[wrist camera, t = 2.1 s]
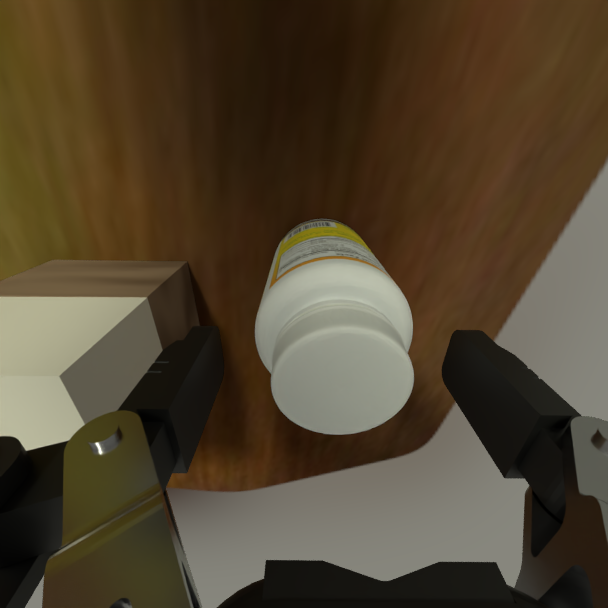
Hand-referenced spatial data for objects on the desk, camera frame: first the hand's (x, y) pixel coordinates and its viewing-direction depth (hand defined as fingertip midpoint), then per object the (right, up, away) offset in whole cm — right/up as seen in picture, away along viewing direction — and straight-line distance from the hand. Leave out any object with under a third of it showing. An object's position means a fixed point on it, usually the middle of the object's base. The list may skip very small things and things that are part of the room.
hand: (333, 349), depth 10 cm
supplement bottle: (0, +4, +7) cm, 8 cm away
